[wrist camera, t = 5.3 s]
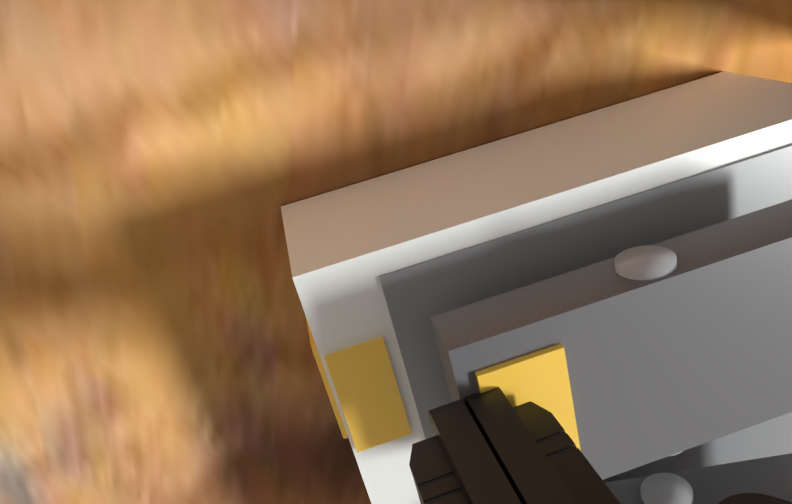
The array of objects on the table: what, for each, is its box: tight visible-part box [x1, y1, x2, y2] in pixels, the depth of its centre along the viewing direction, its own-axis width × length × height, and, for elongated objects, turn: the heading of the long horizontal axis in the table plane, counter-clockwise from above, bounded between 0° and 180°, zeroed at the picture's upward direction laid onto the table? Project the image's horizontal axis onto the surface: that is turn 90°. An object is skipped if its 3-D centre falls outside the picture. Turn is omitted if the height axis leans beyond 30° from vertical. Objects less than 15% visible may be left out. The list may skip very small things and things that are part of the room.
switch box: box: [281, 71, 792, 504], centre depth 21 cm, size 14×20×5 cm
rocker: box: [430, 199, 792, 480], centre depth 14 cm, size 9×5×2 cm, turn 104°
